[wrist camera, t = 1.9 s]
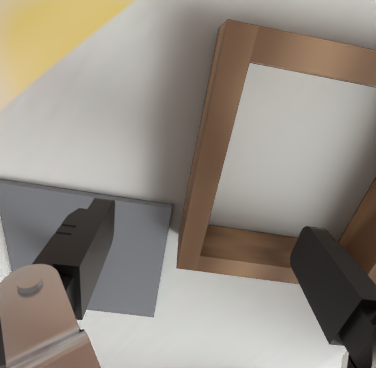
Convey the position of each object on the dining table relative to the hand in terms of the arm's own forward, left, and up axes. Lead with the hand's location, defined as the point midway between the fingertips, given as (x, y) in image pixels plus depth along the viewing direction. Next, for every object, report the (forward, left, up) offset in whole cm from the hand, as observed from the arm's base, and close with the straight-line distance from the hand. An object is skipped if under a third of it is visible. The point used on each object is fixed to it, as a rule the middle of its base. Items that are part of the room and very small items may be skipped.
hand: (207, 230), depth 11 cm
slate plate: (+8, +12, -9) cm, 17 cm away
